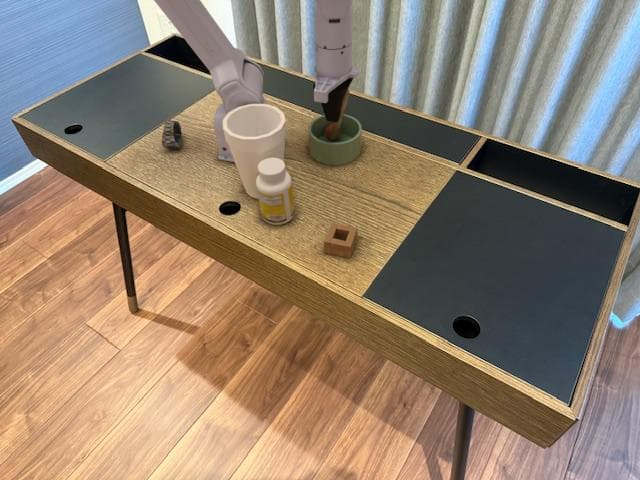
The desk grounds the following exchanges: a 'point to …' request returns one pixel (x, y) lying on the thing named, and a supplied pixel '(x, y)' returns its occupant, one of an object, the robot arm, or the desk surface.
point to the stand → (340, 240)
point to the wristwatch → (171, 135)
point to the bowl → (335, 141)
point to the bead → (329, 131)
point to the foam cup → (254, 139)
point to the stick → (338, 124)
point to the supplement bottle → (275, 192)
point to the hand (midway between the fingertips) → (333, 117)
